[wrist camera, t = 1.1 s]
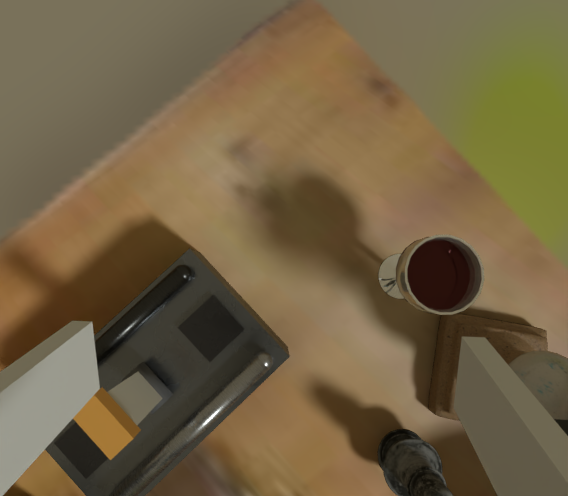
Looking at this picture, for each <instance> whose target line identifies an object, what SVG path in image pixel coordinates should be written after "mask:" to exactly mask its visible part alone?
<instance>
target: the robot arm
mask: <svg viewBox="0 0 568 496" xmlns="http://www.w3.org/2000/svg"><path fill="white" fill-rule="evenodd" d="M99 389H100V385H99V376H98V368H97V359H96V350H95V341H94V333H93V324H92V322H91V321H71V322H70V323H68V324H67V325H66V326H64V327H63V328H61V329H60V330H59V331H57V332H56V333H54V334H53V335H52V336H50V337H49V338H47V339H46V340H44V341H43V342H42V343H40V344H39V345H37V346H36V347H35V348H33V349H32V350H30V351H29V352H28V353H26V354H25V355H23V356H22V357H21V358H19V359H18V360H16V361H15V362H13V363H12V364H11V365H9V366H8V367H6V368H5V369H4V370H2V371H1V372H0V496H3V495H4V494H5V493H6V492H7V490H8V489H9V488H10V487H11V486H12V485H13V484H14V483H15V482H16V481H17V479H18V478H19V477H20V476H21V475H22V474H23V473H24V472H25V471H26V470H27V468H28V467H29V466H30V465H31V464H32V463H33V462H34V461H35V460H36V458H37V457H38V456H39V455H40V454H41V453H42V452H43V451H44V450H45V449H46V447H47V446H48V445H49V444H50V443H51V442H52V441H53V440H54V439H55V438H56V436H57V435H58V434H59V433H60V432H61V431H62V430H63V429H64V428H65V426H66V425H67V424H68V423H69V422H70V421H71V420H72V419H73V418H74V417H75V415H76V414H77V413H78V412H79V411H80V410H81V409H82V408H83V407H84V406H85V404H86V403H87V402H88V401H89V400H90V399H91V398H92V397H93V396H94V395H95V393H96V392H97V391H98V390H99ZM454 409H455V411H456V413H457V415H458V417H459V419H460V421H461V424H462V426H463V428H464V430H465V432H466V434H467V436H468V438H469V440H470V442H471V444H472V446H473V448H474V450H475V452H476V454H477V456H478V458H479V460H480V462H481V464H482V466H483V468H484V470H485V472H486V474H487V476H488V478H489V480H490V482H491V484H492V486H493V488H494V490H495V492H496V494H497V496H568V420H560V419H553V418H552V417H551V415H550V414H549V413H548V412H547V411H546V409H545V408H544V407H543V406H542V405H541V403H540V402H539V401H538V400H537V399H536V397H535V396H534V395H533V394H532V393H531V392H530V390H529V389H528V388H527V387H526V386H525V384H524V383H523V382H522V381H521V380H520V378H519V377H518V376H517V375H516V374H515V372H514V371H513V370H512V369H511V368H510V367H509V365H508V364H507V363H506V362H505V361H504V359H503V358H502V357H501V356H500V355H499V353H498V352H497V351H496V350H495V349H494V347H493V346H492V345H491V344H490V343H489V342H488V340H487V339H486V338H485V337H463V336H462V338H461V347H460V356H459V365H458V374H457V383H456V391H455V400H454Z"/></svg>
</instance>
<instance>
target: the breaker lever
mask: <svg viewBox="0 0 568 496" xmlns="http://www.w3.org/2000/svg"><path fill="white" fill-rule="evenodd" d="M172 395H173V393H172V392H171V391H170V390H169V389H168V388H167V387H166V386H165V385H164V384H163V382H162V381H161V380H160V379H159V378H158V377H157V376H156V375H155V374H154V373H153V371H152V370H151V369H150V368H149V367H148V366H147V365H146V364H145V363H144V362H142V363H140V364H139V365H138V366H137V367H136V368H134V369H133V370H132V371H131V372H130V373H129V374H128V375H127V376H126V377H125V378H124V379H123V380H122V382H121V383H120V384H118V385H117V386H115V387H114V388H112V389H111V390H109V391H108V392H106V390H105V389H104V388H103V387H102V388H101V389H99V390H98V391H97V392H96V393H95V395H94V396H93V397H92V398H91V399H90V400H89V401H88V402H87V403H86V404H85V406H84V407H83V408H82V409H81V410H80V411H79V412H78V413H77V414H76V415H75V417H74V418H73V419H74V420H75V421H76V422H77V424H78V425H79V426H80V427H81V428H82V429H83V430H84V431H85V433H86V434H87V435H88V436H89V437H90V438H91V439H92V440H93V442H94V443H95V444H96V445H97V446H98V447H99V448H100V449H101V450H102V452H103V453H104V454H105V455H106V456H107V457H108V458H109V459H110V460H111V459H112V458H114V457H115V456H116V455H117V454H118V453H119V452H120V451H121V450H122V449H123V448H124V447H125V446H126V445H127V444H128V443H129V442H130V441H131V440H133V439H134V437H135V436H136V435H137V434H138V433H139V432H140V431H141V429H140V428H139V427H138V426H137V425H138V424H139V423H140V422H141V421H142V420H143V419H144V418H145V417H146V416H147V414H148V413H149V412H150V413H151V414H153V413H154V412H156V411H157V410H158V409H159V408H160V407H161V406H162V405H163V404H164V403H165V402H166V401H167V400H168V399H169V398H170V397H171V396H172Z"/></svg>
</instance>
